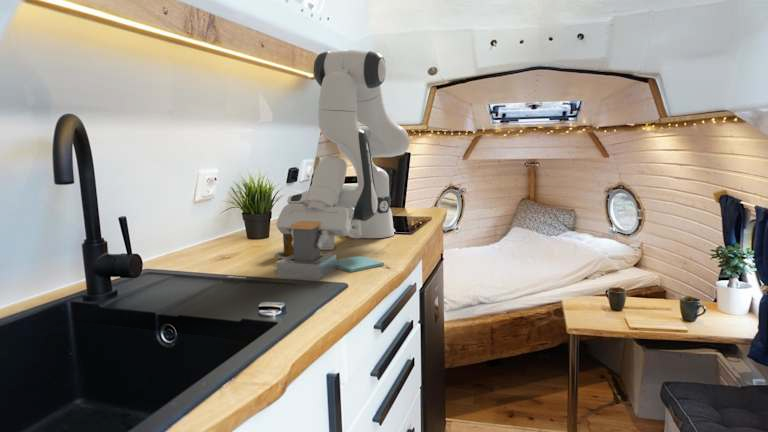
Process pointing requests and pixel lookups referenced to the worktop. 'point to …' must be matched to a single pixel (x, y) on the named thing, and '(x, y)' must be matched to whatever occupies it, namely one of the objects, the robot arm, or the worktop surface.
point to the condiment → (286, 246)
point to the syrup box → (328, 243)
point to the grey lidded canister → (305, 240)
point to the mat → (357, 263)
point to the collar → (306, 267)
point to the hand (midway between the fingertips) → (305, 246)
